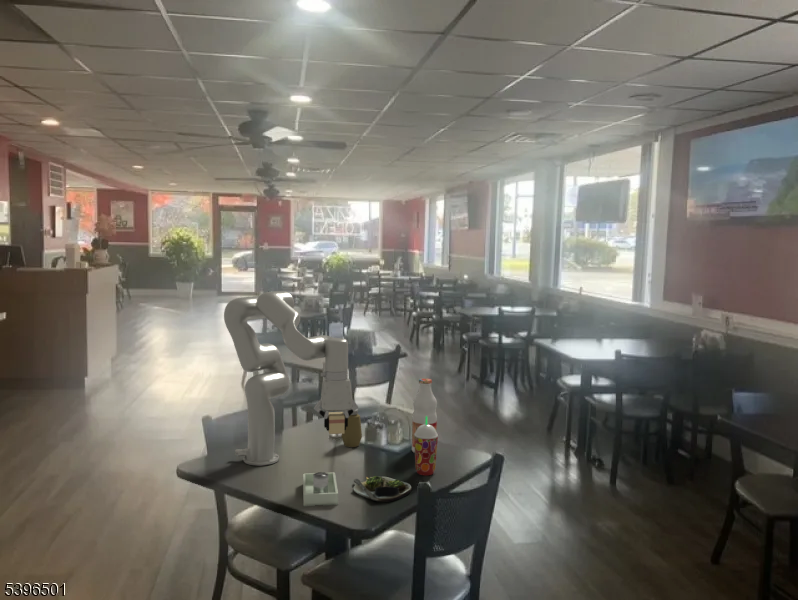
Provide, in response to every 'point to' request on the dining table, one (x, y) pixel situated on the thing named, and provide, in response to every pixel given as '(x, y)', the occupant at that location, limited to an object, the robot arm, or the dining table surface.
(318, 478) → the steel can
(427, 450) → the smoothie
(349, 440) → the squeeze bottle
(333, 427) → the cardboard box
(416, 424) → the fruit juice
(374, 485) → the salad plate
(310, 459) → the dining table surface
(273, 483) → the dining table surface
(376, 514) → the dining table surface
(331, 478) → the tote
